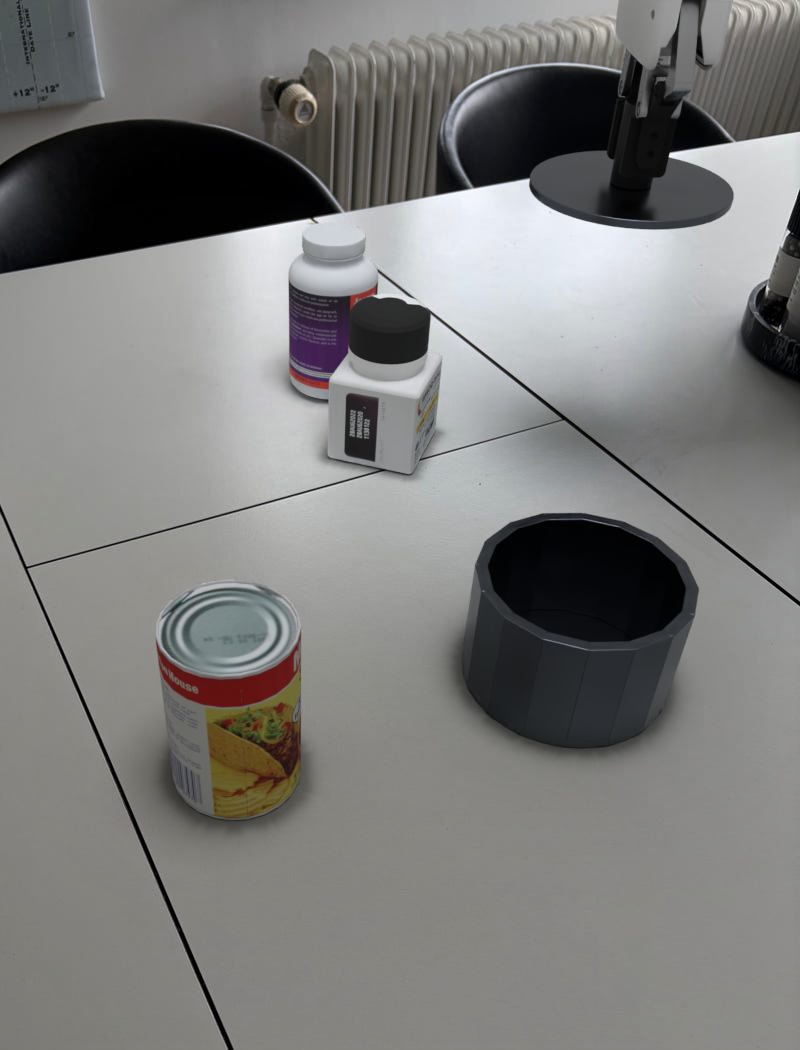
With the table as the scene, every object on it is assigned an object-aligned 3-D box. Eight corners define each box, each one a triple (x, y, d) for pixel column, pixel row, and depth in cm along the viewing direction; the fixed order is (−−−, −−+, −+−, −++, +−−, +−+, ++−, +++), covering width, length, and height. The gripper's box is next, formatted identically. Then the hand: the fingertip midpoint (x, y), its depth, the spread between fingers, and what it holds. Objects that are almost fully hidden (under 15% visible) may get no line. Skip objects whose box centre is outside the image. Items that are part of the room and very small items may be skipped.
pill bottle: (358, 411, 96) (365, 257, 86) (277, 396, 98) (274, 244, 88) (383, 371, 102) (391, 223, 92) (305, 358, 103) (305, 211, 94)
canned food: (327, 770, 64) (331, 625, 56) (231, 843, 60) (221, 698, 52) (241, 704, 68) (234, 560, 60) (146, 769, 64) (124, 624, 56)
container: (411, 476, 88) (424, 333, 79) (326, 458, 90) (328, 316, 81) (436, 431, 94) (450, 293, 85) (354, 415, 95) (360, 278, 87)
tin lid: (696, 166, 82) (719, 73, 78) (757, 239, 72) (788, 135, 67) (513, 165, 82) (525, 72, 78) (547, 238, 71) (563, 134, 67)
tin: (635, 606, 76) (662, 511, 70) (690, 745, 66) (728, 648, 60) (450, 609, 76) (463, 513, 70) (478, 750, 66) (495, 652, 60)
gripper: (811, -132, 57) (720, 209, 69) (720, -164, 69) (656, 131, 81) (675, -134, 57) (608, 209, 69) (607, -166, 69) (561, 131, 81)
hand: (634, 164), depth 75 cm, fingers closed on tin lid, 3 cm apart
